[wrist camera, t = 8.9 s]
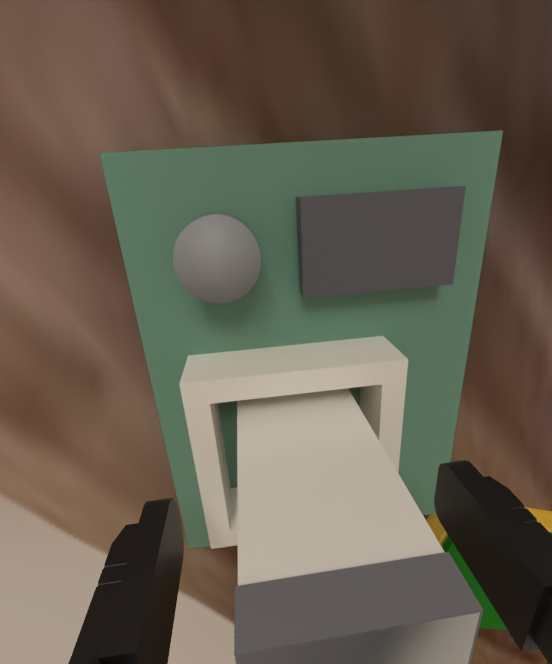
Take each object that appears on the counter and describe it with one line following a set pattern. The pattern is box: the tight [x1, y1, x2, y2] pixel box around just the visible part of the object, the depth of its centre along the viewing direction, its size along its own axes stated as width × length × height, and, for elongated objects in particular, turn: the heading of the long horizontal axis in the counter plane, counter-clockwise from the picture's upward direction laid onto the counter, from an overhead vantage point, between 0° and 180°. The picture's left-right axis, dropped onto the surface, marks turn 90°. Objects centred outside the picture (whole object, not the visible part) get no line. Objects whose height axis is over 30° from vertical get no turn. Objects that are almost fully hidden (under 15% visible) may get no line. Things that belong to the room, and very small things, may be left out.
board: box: [99, 131, 503, 549], centre depth 13 cm, size 16×12×3 cm
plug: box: [234, 388, 483, 664], centre depth 10 cm, size 4×4×8 cm
